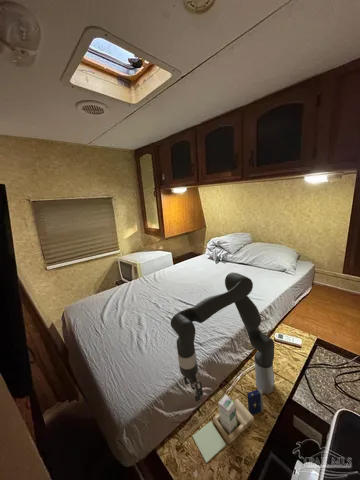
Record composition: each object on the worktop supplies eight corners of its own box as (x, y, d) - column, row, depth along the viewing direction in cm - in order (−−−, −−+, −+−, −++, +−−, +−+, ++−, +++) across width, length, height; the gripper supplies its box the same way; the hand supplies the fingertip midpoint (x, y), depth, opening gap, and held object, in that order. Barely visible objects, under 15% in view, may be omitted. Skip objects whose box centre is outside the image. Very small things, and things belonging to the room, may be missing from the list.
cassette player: (250, 415, 97) (249, 397, 94) (248, 411, 99) (247, 392, 96) (264, 410, 98) (263, 392, 96) (261, 406, 100) (260, 387, 98)
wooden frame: (237, 401, 104) (237, 398, 103) (253, 420, 95) (253, 417, 94) (213, 421, 97) (212, 417, 96) (228, 444, 87) (228, 440, 87)
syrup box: (230, 435, 90) (228, 411, 87) (220, 425, 95) (218, 402, 91) (237, 424, 94) (235, 401, 90) (227, 415, 98) (225, 393, 95)
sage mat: (210, 421, 97) (210, 421, 96) (226, 445, 87) (226, 444, 87) (192, 436, 92) (192, 436, 92) (206, 463, 82) (206, 462, 82)
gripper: (205, 368, 75) (209, 400, 79) (186, 345, 87) (190, 374, 91) (189, 378, 71) (194, 412, 75) (171, 353, 84) (176, 383, 88)
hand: (192, 391), depth 83 cm, fingers open, 8 cm apart
